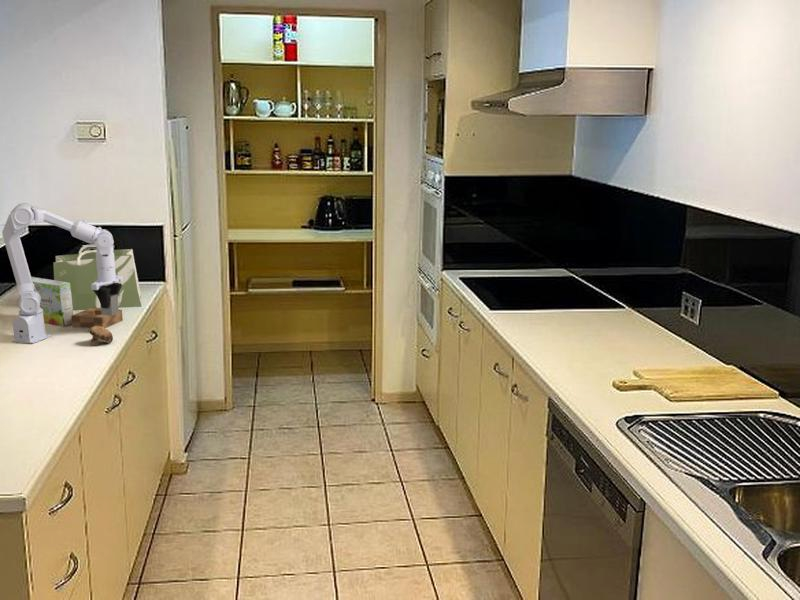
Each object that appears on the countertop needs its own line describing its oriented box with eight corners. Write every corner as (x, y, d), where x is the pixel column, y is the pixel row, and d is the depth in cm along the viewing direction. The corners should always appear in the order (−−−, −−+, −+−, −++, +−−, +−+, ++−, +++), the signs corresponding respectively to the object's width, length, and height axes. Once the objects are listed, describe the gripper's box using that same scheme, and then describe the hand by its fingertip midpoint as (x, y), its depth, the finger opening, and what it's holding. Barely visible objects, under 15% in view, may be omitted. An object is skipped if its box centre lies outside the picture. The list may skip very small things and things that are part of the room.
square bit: (111, 315, 276) (110, 296, 274) (101, 314, 277) (100, 295, 275) (118, 312, 280) (117, 294, 278) (108, 311, 281) (107, 293, 279)
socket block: (102, 329, 283) (101, 318, 282) (72, 326, 286) (71, 315, 285) (122, 320, 294) (121, 309, 293) (93, 318, 297) (92, 307, 296)
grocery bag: (51, 312, 305) (45, 250, 300) (56, 303, 318) (50, 244, 313) (141, 307, 314) (137, 247, 308) (142, 299, 327) (138, 241, 321)
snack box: (21, 319, 295) (16, 278, 291) (34, 316, 300) (30, 275, 296) (62, 327, 285) (58, 284, 282) (75, 323, 290) (71, 281, 286)
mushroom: (81, 338, 260) (91, 321, 262) (84, 341, 268) (94, 324, 270) (105, 349, 262) (115, 332, 263) (107, 352, 269) (117, 335, 271)
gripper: (103, 271, 267) (106, 312, 270) (129, 263, 280) (131, 302, 283) (84, 270, 268) (87, 310, 272) (110, 262, 282) (113, 301, 285)
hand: (109, 306), depth 278 cm, fingers closed on square bit, 4 cm apart
